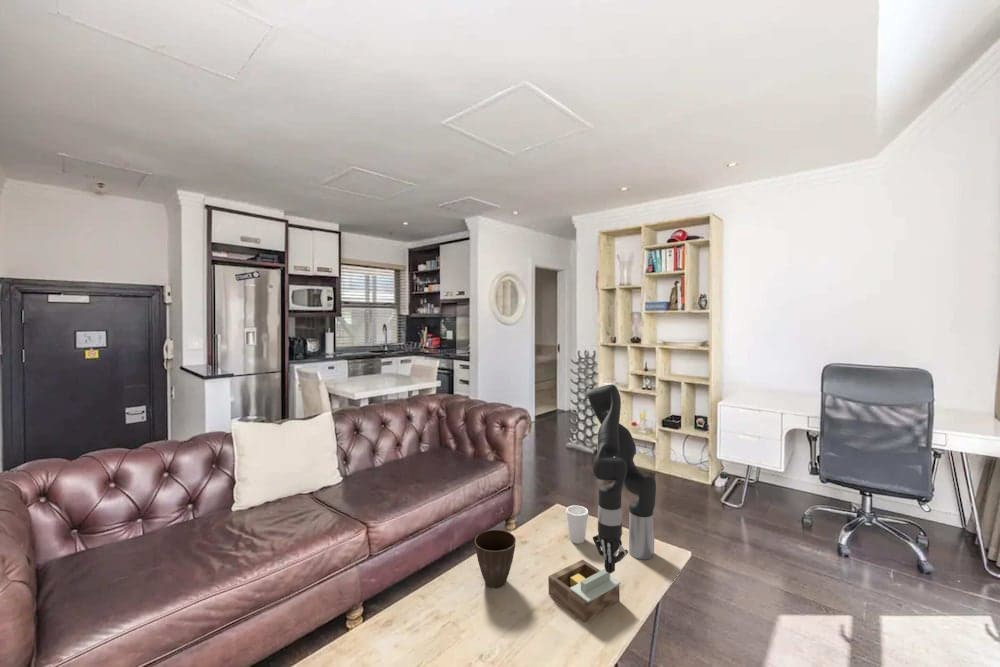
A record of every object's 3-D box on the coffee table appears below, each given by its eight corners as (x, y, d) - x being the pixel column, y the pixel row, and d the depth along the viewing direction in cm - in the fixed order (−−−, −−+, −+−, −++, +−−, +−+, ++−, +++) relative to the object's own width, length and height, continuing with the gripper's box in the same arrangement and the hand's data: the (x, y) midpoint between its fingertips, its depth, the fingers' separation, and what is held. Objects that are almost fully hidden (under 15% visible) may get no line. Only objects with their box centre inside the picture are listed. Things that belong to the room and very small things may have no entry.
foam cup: (591, 537, 188) (591, 508, 187) (583, 547, 180) (583, 517, 179) (571, 532, 193) (571, 503, 192) (562, 541, 185) (562, 512, 185)
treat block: (578, 586, 154) (578, 573, 154) (586, 592, 151) (586, 579, 150) (570, 591, 152) (570, 577, 151) (578, 597, 148) (578, 583, 148)
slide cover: (602, 572, 152) (602, 562, 152) (620, 583, 146) (620, 573, 145) (569, 589, 143) (569, 579, 143) (587, 602, 136) (587, 591, 136)
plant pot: (505, 566, 168) (504, 526, 167) (523, 588, 155) (523, 544, 154) (469, 576, 162) (468, 535, 161) (485, 600, 148) (484, 555, 147)
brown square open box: (582, 576, 161) (582, 559, 161) (619, 600, 147) (619, 582, 147) (548, 594, 151) (548, 576, 151) (584, 622, 137) (584, 602, 137)
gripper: (586, 514, 141) (586, 565, 142) (618, 531, 130) (618, 586, 131) (601, 508, 146) (601, 558, 147) (634, 523, 135) (634, 577, 136)
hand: (609, 571), depth 139 cm, fingers closed
